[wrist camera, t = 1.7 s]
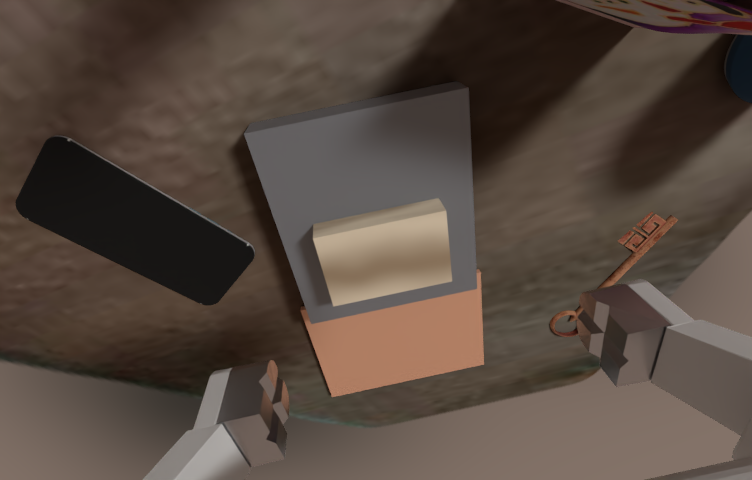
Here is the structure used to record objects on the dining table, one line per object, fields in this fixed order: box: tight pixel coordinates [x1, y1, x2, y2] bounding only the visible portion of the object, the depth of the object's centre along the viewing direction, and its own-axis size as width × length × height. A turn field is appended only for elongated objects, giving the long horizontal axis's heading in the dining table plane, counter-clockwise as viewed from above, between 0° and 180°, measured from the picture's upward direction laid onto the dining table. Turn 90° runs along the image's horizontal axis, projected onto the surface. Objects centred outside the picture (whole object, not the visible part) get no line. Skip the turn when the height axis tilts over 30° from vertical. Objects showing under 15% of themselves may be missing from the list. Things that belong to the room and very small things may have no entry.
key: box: [550, 212, 678, 337], centre depth 36 cm, size 6×1×15 cm
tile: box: [313, 198, 452, 307], centre depth 28 cm, size 6×9×2 cm, turn 100°
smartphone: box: [16, 136, 255, 305], centre depth 29 cm, size 7×1×15 cm
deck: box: [244, 81, 477, 324], centre depth 29 cm, size 16×14×2 cm
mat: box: [301, 269, 484, 397], centre depth 37 cm, size 12×16×1 cm
